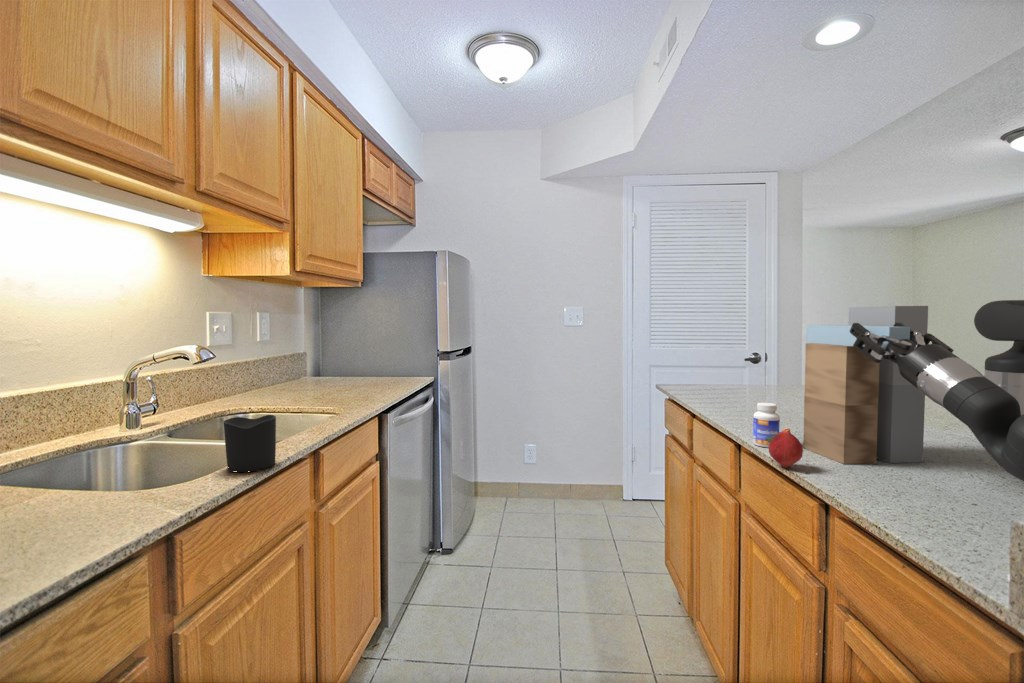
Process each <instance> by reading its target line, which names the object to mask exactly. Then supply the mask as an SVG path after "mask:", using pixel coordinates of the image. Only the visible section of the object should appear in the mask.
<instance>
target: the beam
mask: <svg viewBox="0 0 1024 683" xmlns="http://www.w3.org/2000/svg"><path fill="white" fill-rule="evenodd" d="M851 327H852V326H848V325H835V324H833V325H830V324H815V325H813V324H807V325H806V330H805V331H806V334H805V335H806V336H805V341H806V342H805V344H806V343H818V344H831V345H844V346H853V344H854V343H855V341H856V339H857V338H856V337H855V336H853V335H852V334H851V333H850V329H851ZM863 327H864V328H866V329H867V330H868V331H870V333H873V334H875V335H878V336H882V335H886V336H888V337H891V338H894V339H897V340H902V339H908V340H910V327H890V326H863ZM871 340H872V341H874V342H875V343H877V340H874V339H872V338H871ZM888 343H889V342H886V341H885V342H884V343H883V345H882V346H883V347H884V349H886V346H887V345H888Z"/></svg>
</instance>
